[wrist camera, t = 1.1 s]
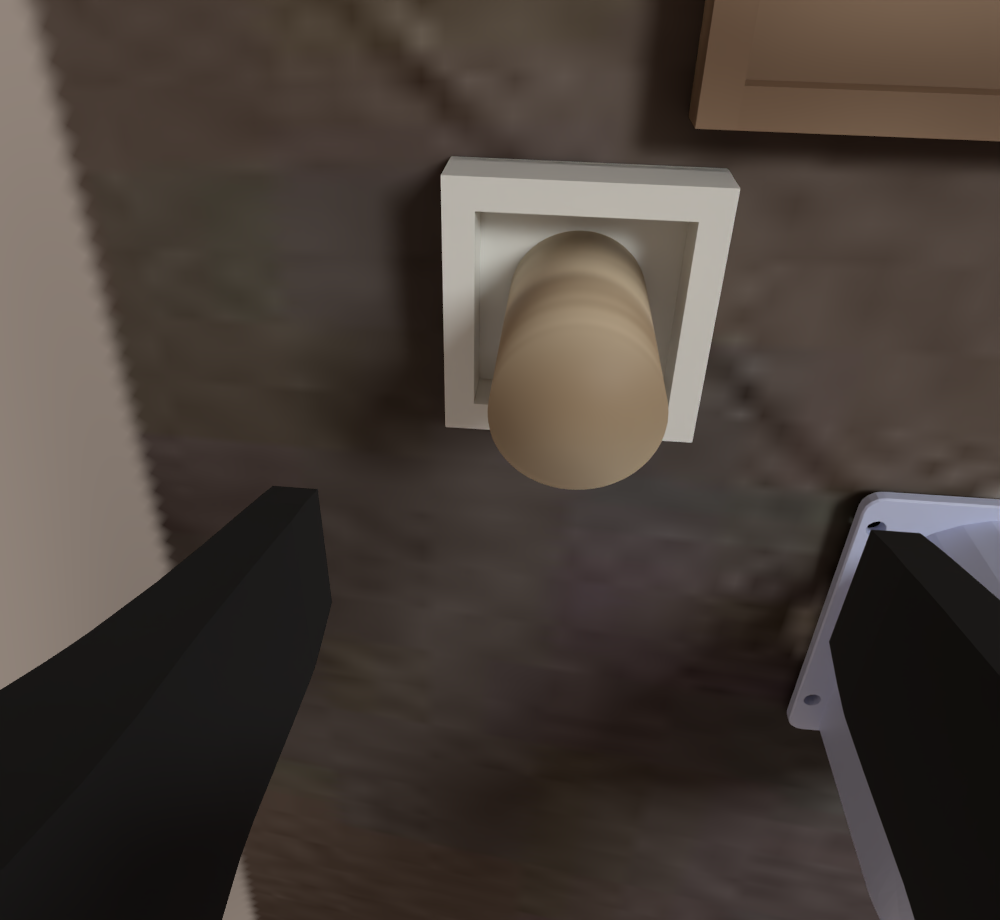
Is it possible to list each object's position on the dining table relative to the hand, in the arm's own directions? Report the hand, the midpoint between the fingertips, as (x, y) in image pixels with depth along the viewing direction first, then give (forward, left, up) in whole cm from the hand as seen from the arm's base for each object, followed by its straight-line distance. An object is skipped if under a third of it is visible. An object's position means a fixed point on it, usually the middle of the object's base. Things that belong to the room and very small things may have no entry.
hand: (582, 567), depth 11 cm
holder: (0, 0, -10) cm, 10 cm away
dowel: (0, 0, -10) cm, 10 cm away
